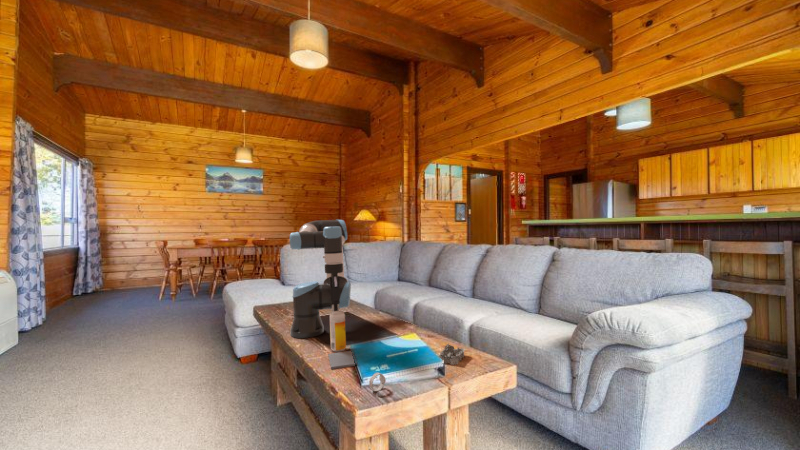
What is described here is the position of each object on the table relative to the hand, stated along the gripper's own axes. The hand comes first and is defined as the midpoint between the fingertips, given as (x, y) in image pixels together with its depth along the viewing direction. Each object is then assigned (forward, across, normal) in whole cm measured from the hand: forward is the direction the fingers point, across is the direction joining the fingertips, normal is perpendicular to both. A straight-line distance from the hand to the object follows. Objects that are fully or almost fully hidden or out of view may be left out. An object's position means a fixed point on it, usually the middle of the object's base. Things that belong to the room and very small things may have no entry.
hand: (335, 319), depth 150 cm
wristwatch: (+11, +45, +8) cm, 47 cm away
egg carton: (+11, +31, +39) cm, 51 cm away
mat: (+11, +18, 0) cm, 21 cm away
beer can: (+11, +6, 0) cm, 12 cm away
